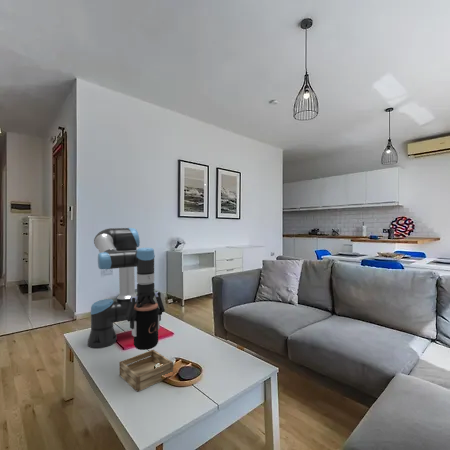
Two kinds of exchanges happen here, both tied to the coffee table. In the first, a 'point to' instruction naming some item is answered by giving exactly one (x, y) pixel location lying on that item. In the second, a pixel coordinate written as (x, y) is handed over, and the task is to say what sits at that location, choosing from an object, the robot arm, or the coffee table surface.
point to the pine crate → (144, 369)
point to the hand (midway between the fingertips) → (146, 331)
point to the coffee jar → (146, 326)
